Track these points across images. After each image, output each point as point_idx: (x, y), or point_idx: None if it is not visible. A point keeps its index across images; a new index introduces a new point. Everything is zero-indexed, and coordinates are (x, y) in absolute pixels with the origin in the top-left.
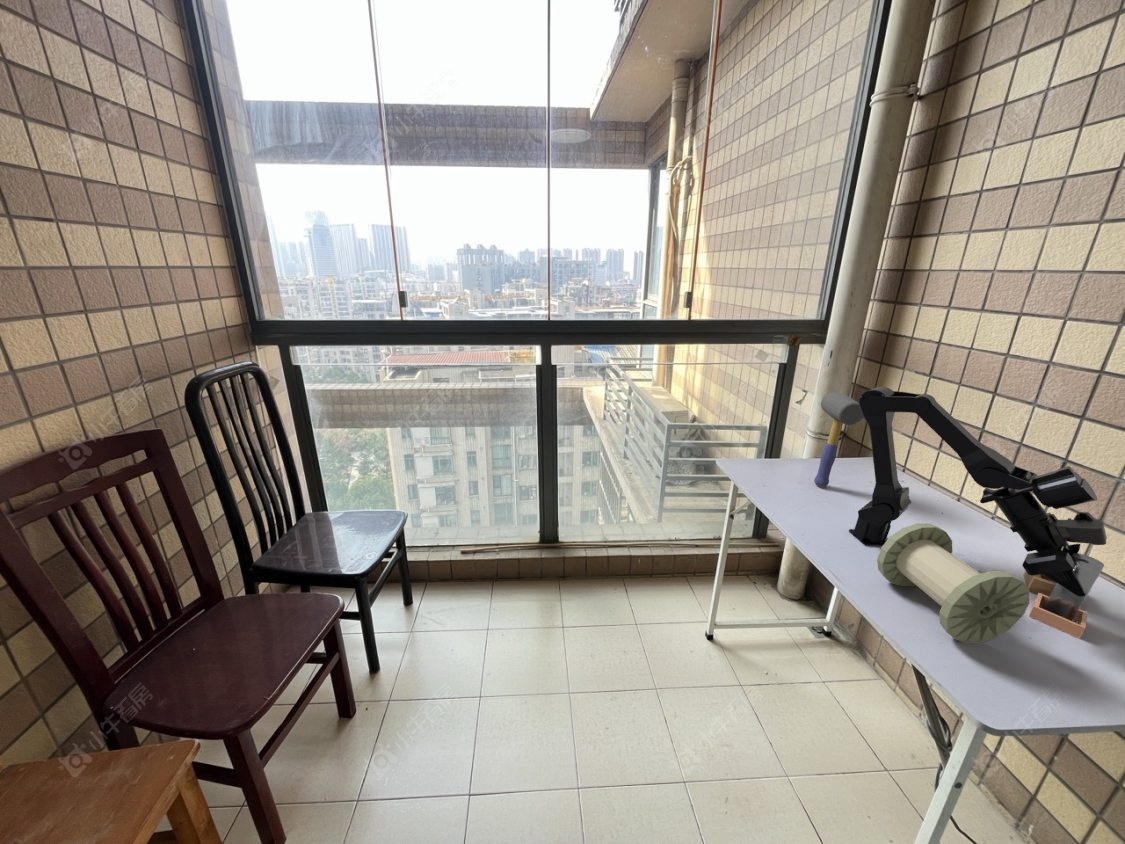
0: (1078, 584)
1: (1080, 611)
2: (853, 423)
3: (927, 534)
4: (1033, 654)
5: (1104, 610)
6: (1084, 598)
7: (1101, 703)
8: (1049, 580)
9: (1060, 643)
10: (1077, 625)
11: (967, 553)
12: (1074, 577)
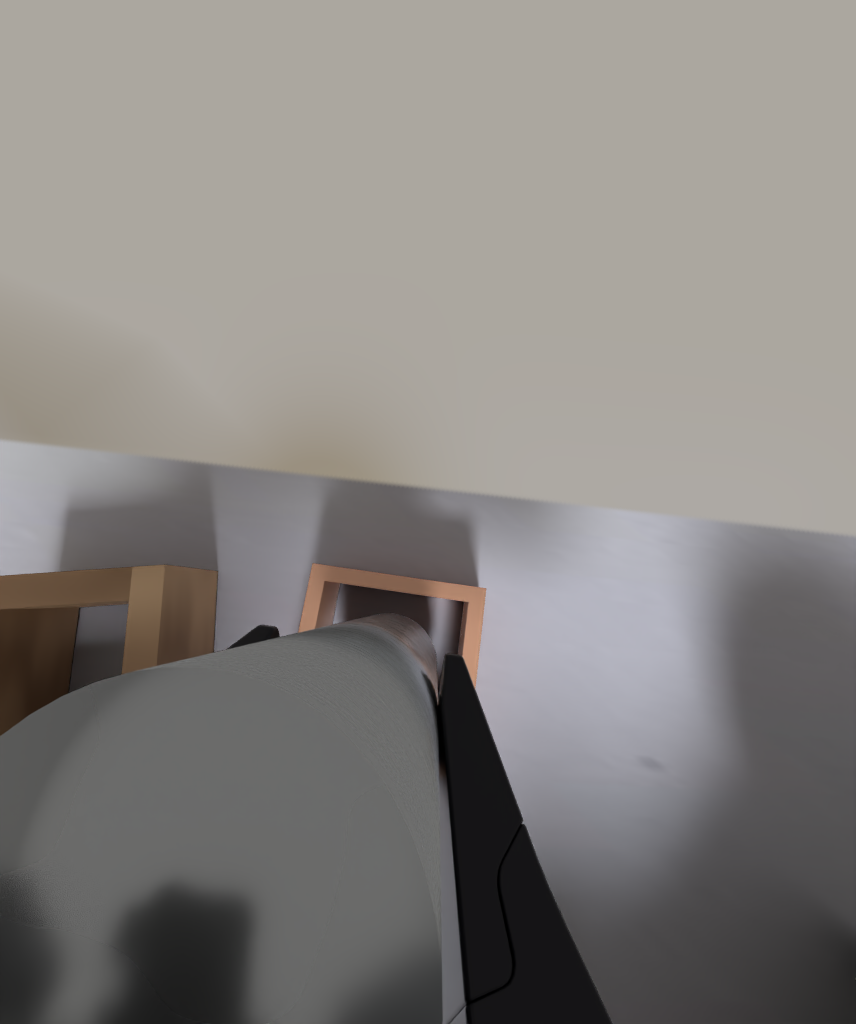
0: (500, 768)
1: (323, 588)
2: None
3: None
4: (777, 756)
5: (154, 486)
6: (397, 630)
7: None
8: (42, 670)
9: (581, 654)
10: (482, 614)
11: None
12: (549, 891)
